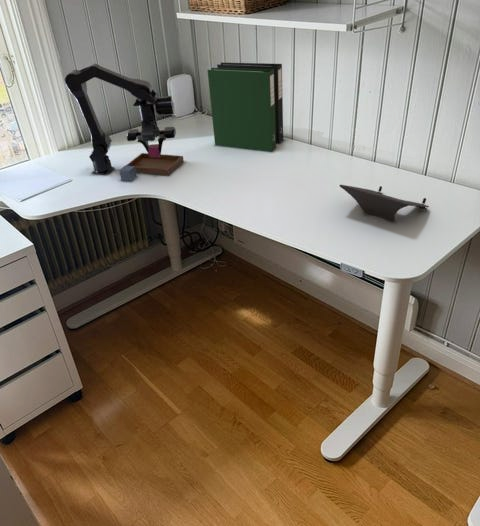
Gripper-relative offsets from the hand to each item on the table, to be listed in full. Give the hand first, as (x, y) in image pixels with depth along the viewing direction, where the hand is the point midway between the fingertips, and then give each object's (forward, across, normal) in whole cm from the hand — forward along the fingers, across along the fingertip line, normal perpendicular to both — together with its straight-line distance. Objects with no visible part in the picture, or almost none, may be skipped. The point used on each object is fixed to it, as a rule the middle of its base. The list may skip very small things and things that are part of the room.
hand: (155, 154), depth 196 cm
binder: (+6, +38, +20) cm, 44 cm away
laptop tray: (+6, +81, -49) cm, 95 cm away
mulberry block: (0, 0, 0) cm, 1 cm away
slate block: (+6, -10, -10) cm, 15 cm away
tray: (+6, -1, 0) cm, 6 cm away
